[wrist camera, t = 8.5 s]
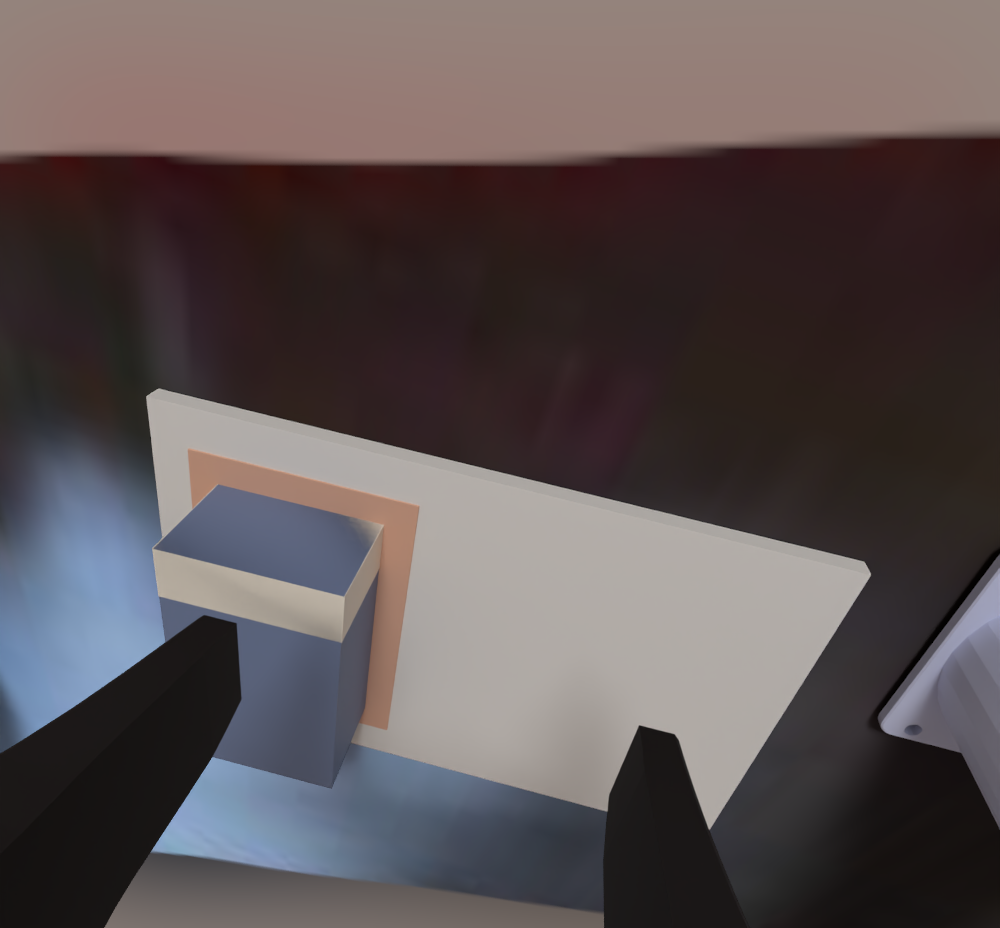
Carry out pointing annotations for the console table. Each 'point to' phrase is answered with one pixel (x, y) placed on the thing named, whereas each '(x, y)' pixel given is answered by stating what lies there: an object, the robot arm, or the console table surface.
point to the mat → (535, 607)
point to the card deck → (280, 621)
